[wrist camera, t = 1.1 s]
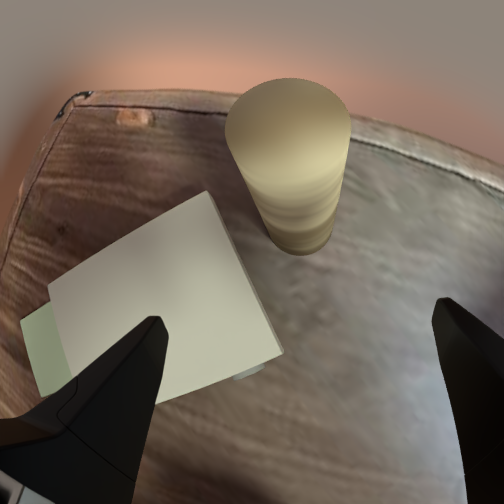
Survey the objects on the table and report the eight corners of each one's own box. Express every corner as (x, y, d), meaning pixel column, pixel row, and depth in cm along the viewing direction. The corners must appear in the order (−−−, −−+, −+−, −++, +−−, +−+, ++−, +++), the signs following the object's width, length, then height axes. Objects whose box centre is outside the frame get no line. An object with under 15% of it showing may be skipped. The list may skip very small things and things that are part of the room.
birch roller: (344, 237, 23) (375, 144, 11) (285, 267, 23) (257, 200, 11) (313, 183, 24) (309, 64, 12) (257, 211, 25) (207, 108, 12)
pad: (96, 377, 24) (93, 377, 24) (44, 396, 25) (41, 397, 24) (70, 291, 26) (67, 290, 26) (23, 321, 27) (20, 320, 27)
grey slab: (289, 355, 22) (285, 361, 18) (119, 418, 23) (93, 429, 19) (219, 204, 26) (204, 184, 22) (74, 286, 26) (46, 279, 23)
